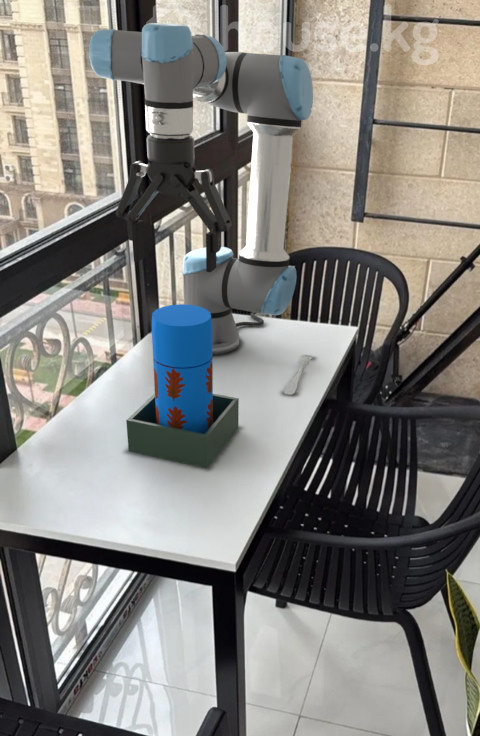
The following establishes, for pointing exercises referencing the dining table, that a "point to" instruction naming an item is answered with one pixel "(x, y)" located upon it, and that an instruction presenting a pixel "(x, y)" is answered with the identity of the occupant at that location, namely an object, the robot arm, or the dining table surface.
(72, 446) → the dining table surface
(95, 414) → the dining table surface
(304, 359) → the fork
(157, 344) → the thermos
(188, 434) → the box
